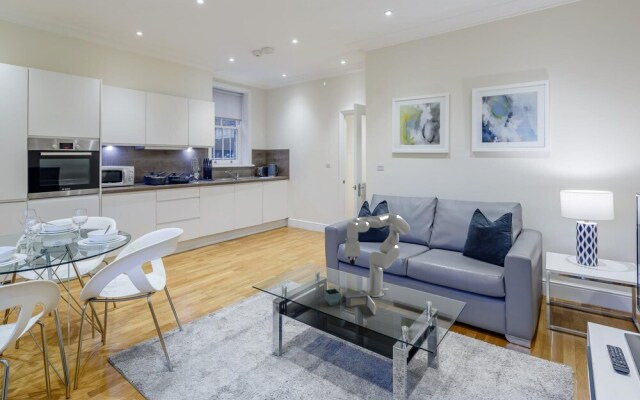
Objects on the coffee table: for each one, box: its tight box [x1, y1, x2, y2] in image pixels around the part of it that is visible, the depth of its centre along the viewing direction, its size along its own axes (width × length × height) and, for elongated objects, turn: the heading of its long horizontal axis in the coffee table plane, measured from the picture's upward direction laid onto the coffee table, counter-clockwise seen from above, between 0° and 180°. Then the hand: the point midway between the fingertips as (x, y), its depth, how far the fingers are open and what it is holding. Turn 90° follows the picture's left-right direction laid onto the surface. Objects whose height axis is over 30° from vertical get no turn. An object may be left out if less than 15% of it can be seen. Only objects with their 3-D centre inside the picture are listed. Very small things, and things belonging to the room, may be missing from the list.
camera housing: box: [341, 289, 370, 308], centre depth 240 cm, size 17×9×8 cm, turn 104°
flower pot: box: [323, 288, 341, 307], centre depth 239 cm, size 9×9×9 cm
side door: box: [366, 296, 378, 315], centre depth 231 cm, size 14×2×7 cm, turn 11°
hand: (352, 265), depth 241 cm, fingers closed
